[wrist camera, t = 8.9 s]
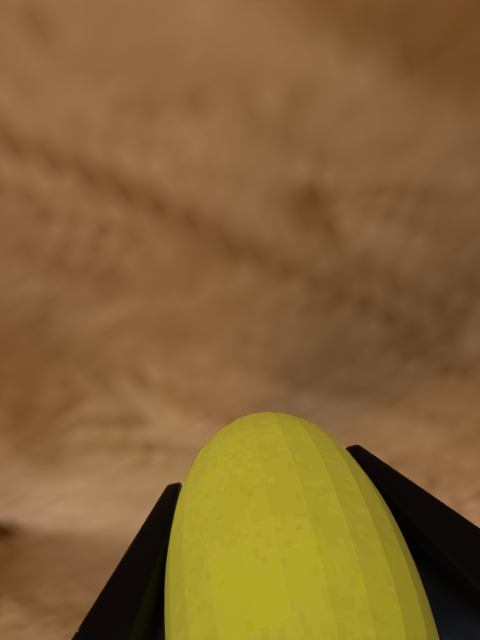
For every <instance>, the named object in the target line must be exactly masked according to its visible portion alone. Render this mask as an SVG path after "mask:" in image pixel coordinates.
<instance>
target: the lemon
mask: <svg viewBox="0 0 480 640" xmlns="http://www.w3.org/2000/svg"><path fill="white" fill-rule="evenodd" d="M164 614H165V640H440V639H439V635H438V632H437V628H436V624H435V621H434V618H433V614H432V611H431V608H430V604H429V602H428V599H427V596H426V593H425V590H424V587H423V584H422V582H421V579H420V576H419V573H418V571H417V568H416V566H415V563H414V561H413V558H412V556H411V554H410V551H409V549H408V547H407V544H406V542H405V540H404V538H403V535H402V533H401V531H400V529H399V527H398V525H397V523H396V521H395V519H394V517H393V515H392V513H391V511H390V509H389V508H388V506H387V504H386V503H385V501H384V499H383V498H382V496H381V494H380V493H379V491H378V490H377V488H376V487H375V485H374V484H373V482H372V481H371V480H370V478H369V477H368V476H367V474H366V473H365V472H364V471H363V469H362V468H361V467H360V466H359V464H358V463H357V462H356V461H355V460H354V458H353V457H352V456H351V455H350V453H349V452H348V451H347V450H346V449H345V448H344V447H343V446H342V445H341V444H340V443H339V442H338V441H337V440H336V439H335V438H333V437H332V436H331V435H329V434H328V433H326V432H325V431H323V430H322V429H320V428H319V427H317V426H316V425H314V424H313V423H311V422H310V421H307V420H305V419H302V418H299V417H296V416H293V415H290V414H286V413H275V412H263V413H255V414H250V415H247V416H245V417H242V418H239V419H237V420H235V421H233V422H232V423H230V424H229V425H227V426H225V427H224V428H222V429H221V430H219V431H218V432H217V433H216V434H215V435H214V436H213V437H212V438H211V439H210V440H209V441H208V442H207V443H206V445H205V446H204V447H203V448H202V449H201V451H200V453H199V454H198V456H197V458H196V459H195V461H194V463H193V465H192V466H191V468H190V470H189V472H188V474H187V476H186V478H185V481H184V483H183V486H182V489H181V491H180V494H179V498H178V502H177V506H176V510H175V514H174V519H173V524H172V529H171V534H170V540H169V545H168V553H167V562H166V574H165V611H164Z"/></svg>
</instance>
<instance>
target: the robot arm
mask: <svg viewBox="0 0 480 640" xmlns="http://www.w3.org/2000/svg"><path fill="white" fill-rule="evenodd" d="M346 450H347V451H348V452H349V453H350V455H351V456H352V457H353V458H354V460H355V461H356V462H357V463H358V464H359V466H360V467H361V468H362V469H363V471H364V472H365V473H366V474H367V476H368V477H369V478H370V480H371V481H372V482H373V484H374V485H375V487H376V488H377V490H378V491H379V493H380V494H381V496H382V498H383V499H384V501H385V503H386V504H387V506H388V508H389V509H390V511H391V513H392V515H393V517H394V519H395V521H396V523H397V525H398V527H399V529H400V531H401V533H402V535H403V538H404V540H405V542H406V544H407V547H408V549H409V551H410V554H411V556H412V558H413V561H414V563H415V566H416V568H417V571H418V573H419V576H420V579H421V582H422V584H423V587H424V590H425V593H426V596H427V599H428V602H429V604H430V608H431V611H432V614H433V618H434V621H435V624H436V628H437V632H438V635H439V639H440V640H480V528H479V527H477V526H476V525H474V524H473V523H471V522H470V521H468V520H467V519H466V518H464V517H463V516H461V515H460V514H458V513H457V512H455V511H454V510H453V509H451V508H450V507H448V506H447V505H445V504H444V503H442V502H441V501H440V500H438V499H437V498H435V497H434V496H432V495H431V494H429V493H428V492H426V491H425V490H424V489H422V488H421V487H419V486H418V485H416V484H415V483H413V482H412V481H411V480H409V479H408V478H406V477H405V476H403V475H402V474H400V473H399V472H398V471H396V470H395V469H393V468H392V467H390V466H389V465H387V464H386V463H384V462H383V461H382V460H380V459H379V458H377V457H376V456H374V455H373V454H371V453H370V452H369V451H367V450H366V449H364V448H363V447H361V446H360V445H353V446H348V447H347V448H346ZM181 489H182V484H181V483H179V482H178V483H174V484H169V485H168V486H167V487H166V488H165V490H164V492H163V493H162V495H161V496H160V498H159V500H158V501H157V503H156V504H155V506H154V508H153V509H152V511H151V513H150V514H149V516H148V517H147V519H146V521H145V522H144V524H143V525H142V527H141V529H140V530H139V532H138V533H137V535H136V537H135V538H134V540H133V542H132V543H131V545H130V546H129V548H128V550H127V551H126V553H125V554H124V556H123V558H122V559H121V561H120V562H119V564H118V566H117V567H116V569H115V571H114V572H113V574H112V575H111V577H110V579H109V580H108V582H107V583H106V585H105V587H104V588H103V590H102V591H101V593H100V595H99V596H98V598H97V600H96V601H95V603H94V604H93V606H92V608H91V609H90V611H89V612H88V614H87V616H86V617H85V619H84V620H83V622H82V624H81V625H80V627H79V632H76V633H75V635H74V636H73V638H72V640H165V614H164V611H165V574H166V562H167V553H168V545H169V540H170V534H171V529H172V524H173V519H174V514H175V510H176V506H177V502H178V498H179V494H180V491H181Z"/></svg>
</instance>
